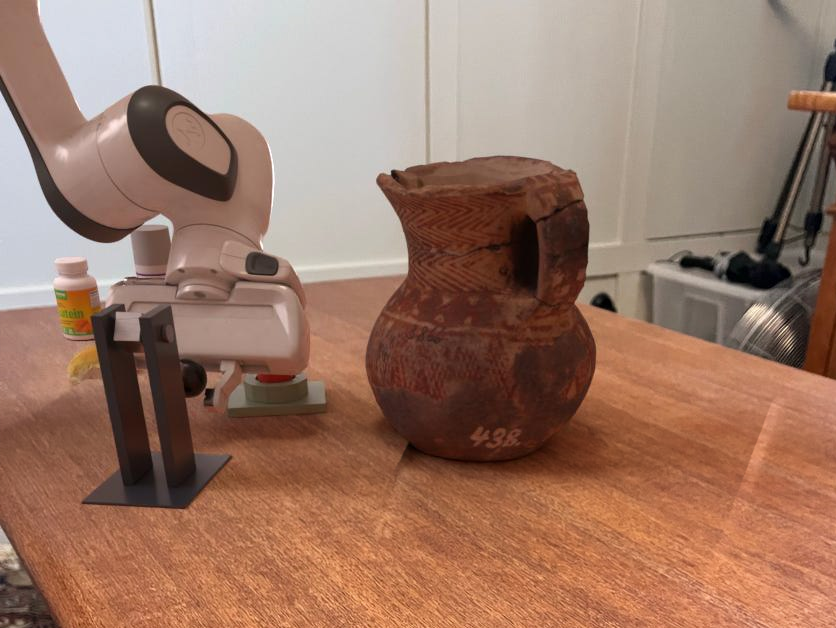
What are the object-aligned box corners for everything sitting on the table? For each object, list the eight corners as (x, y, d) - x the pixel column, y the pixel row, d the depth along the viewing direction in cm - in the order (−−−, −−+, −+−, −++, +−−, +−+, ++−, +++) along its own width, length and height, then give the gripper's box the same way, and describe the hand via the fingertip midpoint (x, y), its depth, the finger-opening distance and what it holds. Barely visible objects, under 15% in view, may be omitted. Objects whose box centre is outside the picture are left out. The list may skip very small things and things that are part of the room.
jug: (333, 461, 96) (310, 173, 83) (419, 396, 113) (411, 148, 100) (557, 492, 90) (570, 186, 77) (613, 418, 107) (631, 157, 94)
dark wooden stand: (141, 465, 95) (109, 292, 87) (234, 469, 94) (210, 295, 86) (84, 517, 85) (42, 327, 77) (187, 523, 84) (155, 330, 76)
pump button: (257, 386, 104) (255, 369, 104) (258, 376, 108) (256, 360, 107) (293, 385, 105) (291, 368, 104) (293, 375, 108) (291, 358, 107)
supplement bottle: (56, 340, 134) (39, 263, 129) (76, 329, 139) (61, 255, 134) (94, 341, 133) (79, 264, 128) (113, 331, 138) (99, 256, 133)
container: (171, 346, 131) (152, 223, 123) (195, 352, 129) (177, 226, 121) (142, 355, 128) (120, 228, 120) (166, 361, 125) (145, 232, 118)
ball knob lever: (174, 402, 95) (177, 365, 96) (211, 403, 95) (214, 366, 95) (104, 347, 81) (108, 303, 82) (147, 348, 81) (151, 305, 81)
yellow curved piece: (148, 366, 123) (143, 333, 121) (135, 389, 116) (129, 353, 114) (78, 368, 123) (71, 335, 120) (61, 391, 115) (53, 356, 113)
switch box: (229, 429, 104) (224, 391, 102) (233, 404, 111) (228, 368, 109) (327, 423, 105) (324, 386, 103) (325, 400, 112) (322, 364, 110)
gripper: (97, 257, 96) (71, 389, 93) (306, 261, 94) (287, 397, 91) (125, 295, 103) (101, 420, 99) (322, 300, 100) (305, 428, 97)
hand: (192, 409), depth 95 cm, fingers open, 3 cm apart
